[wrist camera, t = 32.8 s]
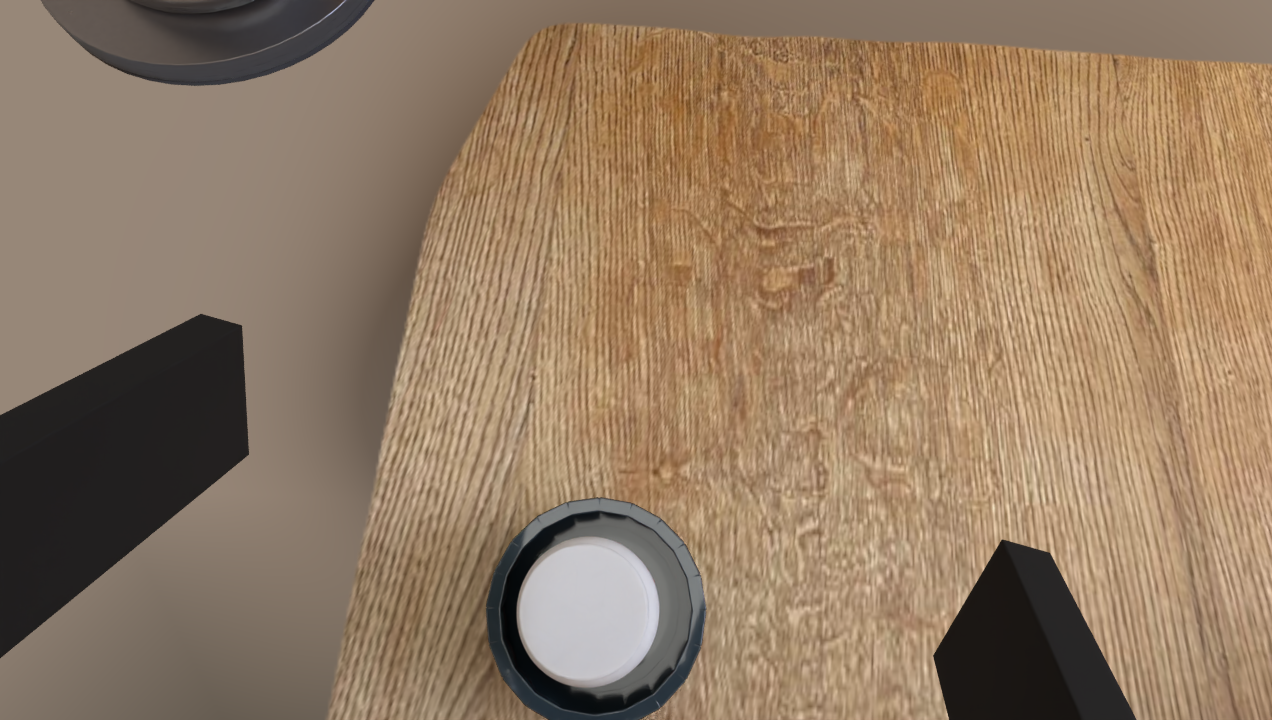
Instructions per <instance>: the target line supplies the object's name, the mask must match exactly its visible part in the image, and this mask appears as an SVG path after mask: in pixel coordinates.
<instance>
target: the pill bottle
mask: <svg viewBox="0 0 1272 720" xmlns="http://www.w3.org/2000/svg"><path fill="white" fill-rule="evenodd" d="M658 623H659V598H658V592H657V589H656V585H655V582H654V580H653V578H652V576H651V574H650V572H649V570H648V569H647V567H646V566H645V565H644V563H643V562H642V561H641V560H640V559H639V558H638V556H636V555H635V554H634V553H633V552H632V551H630V550H629V549H628V548H626V547H625V546H623V545H621V544H620V543H618V542H616V541H613V540H610V539H606V538H601V537H591V536H586V537H577V538H572V539H569V540H566V541H563V542H561V543H559V544H557V545H555V546H554V547H552V548H550V549H549V550H548V551H546V552H545V553H544V554H543V555H541V556H540V557H539V558H538V559H537V561H536V562H535V563H534V564H533V566H532V567H531V568H530V570H529V571H528V573H527V575H526V577H525V579H524V581H523V583H522V586H521V588H520V592H519V596H518V601H517V626H518V631H519V635H520V638H521V641H522V644H523V646H524V648H525V650H526V652H527V654H528V655H529V657H530V658H531V660H532V661H533V662H534V663H535V664H536V666H537V667H538V668H539V669H541V670H542V671H543V672H544V673H545V674H546V675H548V676H549V677H551V678H553V679H555V680H556V681H558V682H561V683H563V684H566V685H570V686H574V687H582V688H593V687H599V686H604V685H607V684H610V683H613V682H615V681H617V680H619V679H621V678H622V677H624V676H625V675H627V674H628V673H630V672H631V671H632V670H633V669H634V668H635V667H636V666H637V665H638V664H639V663H640V662H641V661H642V660H643V658H644V657H645V655H646V654H647V652H648V651H649V649H650V647H651V645H652V643H653V641H654V638H655V635H656V632H657V628H658Z"/></svg>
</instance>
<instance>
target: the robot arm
mask: <svg viewBox="0 0 1272 720" xmlns="http://www.w3.org/2000/svg"><path fill="white" fill-rule="evenodd" d="M131 1H133V2H135V3H137V4H139V5H142V6H145V7H148V8H151V9H155V10H159V11H164V12H170V13H180V14H199V13H210V12H218V11H222V10H227V9H232V8H235V7H239V6H242V5H245V4H248V3H250V2H253V1H255V0H131ZM248 455H249V449H248V429H247V412H246V392H245V374H244V355H243V336H242V326H241V325H238V324H235V323H231V322H228V321H224V320H221V319H217V318H214V317H210V316H206V315H203V314H200V315H198V316H196V317H194V318H192V319H190V320H188V321H186V322H184V323H182V324H180V325H178V326H176V327H174V328H172V329H170V330H168V331H166V332H164V333H162V334H160V335H158V336H156V337H154V338H152V339H150V340H148V341H146V342H144V343H142V344H140V345H138V346H137V347H134V348H132V349H130V350H129V351H126V352H124V353H123V354H120V355H119V356H117V357H115V358H113V359H111V360H109V361H107V362H105V363H103V364H101V365H99V366H97V367H95V368H93V369H91V370H89V371H87V372H85V373H83V374H81V375H79V376H77V377H75V378H73V379H71V380H69V381H67V382H65V383H63V384H61V385H59V386H57V387H55V388H53V389H51V390H49V391H47V392H45V393H43V394H41V395H39V396H37V397H35V398H34V399H32V400H30V401H28V402H26V403H24V404H22V405H20V406H18V407H16V408H14V409H12V410H10V411H8V412H6V413H4V414H2V415H0V658H1V657H2V656H3V655H5V654H6V653H7V652H8V651H10V650H11V649H12V648H13V647H14V646H15V645H17V644H18V643H19V642H20V641H22V640H23V639H24V638H25V637H26V636H28V635H29V634H30V633H31V632H33V631H34V630H35V629H36V628H38V627H39V626H40V625H41V624H42V623H43V622H45V621H46V620H47V619H48V618H50V617H51V616H52V615H54V613H56V612H57V611H58V610H60V609H61V608H62V607H63V606H64V605H66V604H67V603H68V602H69V601H71V600H72V599H73V598H74V597H75V596H77V595H78V594H79V593H80V592H82V591H83V590H84V589H85V588H86V587H88V586H89V585H90V584H91V583H92V582H94V581H95V580H96V579H97V578H99V577H100V576H101V575H102V574H104V573H105V572H106V571H107V570H108V569H110V568H111V567H112V566H113V565H114V564H116V563H117V562H118V561H119V560H120V559H122V558H123V557H124V556H126V555H127V554H128V553H129V552H130V551H132V550H133V549H134V548H135V547H136V546H137V545H139V544H140V543H141V542H143V541H144V540H145V539H146V538H148V537H149V536H150V535H151V534H152V533H153V532H155V531H156V530H157V529H159V528H160V527H161V526H162V525H163V524H165V523H166V522H167V521H168V520H169V519H171V518H172V517H173V516H174V515H175V514H177V513H178V512H179V511H180V510H182V509H183V508H184V507H185V506H187V505H188V504H189V503H190V502H192V501H193V500H194V499H195V498H196V497H198V496H199V495H200V494H201V493H203V492H204V491H205V490H206V489H207V488H209V487H210V486H211V485H212V484H213V483H215V482H216V481H217V480H218V479H220V478H221V477H222V476H223V475H224V474H226V473H227V472H228V471H229V470H230V469H232V468H233V467H234V466H235V465H237V464H238V463H239V462H240V461H242V460H243V459H244V458H245V457H246V456H248ZM933 657H934V661H935V665H936V669H937V673H938V677H939V681H940V685H941V689H942V693H943V697H944V701H945V705H946V709H947V713H948V717H949V720H1136V718H1135V716H1134V714H1133V712H1132V710H1131V708H1130V706H1129V704H1128V702H1127V700H1126V698H1125V696H1124V695H1123V693H1122V691H1121V689H1120V687H1119V685H1118V683H1117V681H1116V679H1115V677H1114V675H1113V673H1112V671H1111V670H1110V668H1109V666H1108V664H1107V662H1106V660H1105V658H1104V656H1103V654H1102V652H1101V650H1100V648H1099V646H1098V645H1097V643H1096V641H1095V639H1094V637H1093V635H1092V633H1091V631H1090V629H1089V627H1088V625H1087V623H1086V621H1085V619H1084V618H1083V616H1082V614H1081V612H1080V610H1079V608H1078V606H1077V604H1076V602H1075V600H1074V598H1073V596H1072V594H1071V593H1070V591H1069V589H1068V587H1067V585H1066V583H1065V581H1064V579H1063V577H1062V575H1061V573H1060V571H1059V569H1058V568H1057V566H1056V564H1055V562H1054V560H1053V558H1052V556H1051V554H1050V553H1048V552H1045V551H1041V550H1038V549H1034V548H1031V547H1027V546H1023V545H1020V544H1016V543H1013V542H1009V541H1006V540H1001V542H1000V544H999V545H998V547H997V549H996V551H995V552H994V554H993V556H992V557H991V559H990V561H989V562H988V564H987V566H986V567H985V569H984V571H983V572H982V574H981V576H980V578H979V579H978V581H977V583H976V584H975V586H974V588H973V589H972V591H971V593H970V594H969V596H968V598H967V599H966V601H965V603H964V605H963V606H962V608H961V610H960V611H959V613H958V615H957V616H956V618H955V620H954V621H953V623H952V625H951V626H950V628H949V630H948V632H947V633H946V635H945V637H944V638H943V640H942V642H941V643H940V645H939V647H938V648H937V650H936V652H935V653H934V655H933Z"/></svg>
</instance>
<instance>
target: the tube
mask: <svg viewBox="0 0 1272 720" xmlns="http://www.w3.org/2000/svg"><path fill="white" fill-rule="evenodd" d="M586 536H591V537H601V538H606V539H610V540H613V541H616V542H618V543H620V544H621V545H623V546H625V547H626V548H628V549H629V550H630V551H632V552H633V553H634V554H635V555H636V556H638V558H639V559H640V560H641V561H642V562H643V563H644V565H645V566H646V567H647V569H648V570H649V572H650V574H651V576H652V578H653V580H654V582H655V585H656V589H657V592H658V598H659V623H658V628H657V632H656V635H655V638H654V641H653V643H652V645H651V647H650V649H649V651H648V652H647V654H646V655H645V657H644V658H643V660H642V661H641V662H640V663H639V664H638V665H637V666H636V667H635V668H634V669H633V670H632V671H631V672H630V673H628V674H627V675H625V676H624V677H622V678H621V679H619V680H617V681H615V682H613V683H610V684H607V685H604V686H599V687H593V688H582V687H574V686H570V685H566V684H563V683H561V682H558V681H556V680H555V679H553V678H551V677H549V676H548V675H546V674H545V673H544V672H543V671H542V670H541V669H539V668H538V667H537V666H536V664H535V663H534V662H533V661H532V660H531V658H530V657H529V655H528V654H527V652H526V650H525V648H524V646H523V644H522V641H521V638H520V635H519V631H518V626H517V601H518V596H519V592H520V588H521V586H522V583H523V581H524V579H525V577H526V575H527V573H528V571H529V570H530V568H531V567H532V566H533V564H534V563H535V562H536V561H537V559H538V558H539V557H540V556H541V555H543V554H544V553H545V552H546V551H548V550H549V549H550V548H552V547H554V546H555V545H557V544H559V543H561V542H563V541H566V540H569V539H572V538H577V537H586ZM486 617H487V631H488V642H489V643H490V644H489V646H490V649H491V652H492V654H493V657H494V659H495V662H496V664H497V667H498V669H499V672H500V674H501V676H502V677H503V680H504V681H505V682H506V684H507V685H508V686H509V687H510V688H511V689H512V691H513V692H514V693H515V694H516V695H517V697H518V698H519V699H520V700H521V701H522V703H523V704H524V705H525V706H526V705H527V707H528V708H529V709H531V710H533V711H534V712H536V713H538V714H540V715H541V716H543V717H545V718H546V719H548V720H640V719H642V718H644V717H646V716H647V715H649V714H651V713H653V712H655V711H656V710H658V709H660V707H662V706H663V705H664V704H665V703H666V702H667V701H668V700H669V699H670V698H671V696H672V695H673V694H674V693H675V692H676V691H677V690H678V689H679V688H680V687H681V686H682V684H683V683H684V682H685V680H686V679H687V678H688V675H689V673H690V671H691V669H692V667H693V665H694V662H695V660H696V658H697V656H698V654H699V651H700V649H701V645H702V641H703V633H704V625H705V618H706V604H705V598H704V591H703V585H702V579H701V575H700V572H699V570H698V568H697V566H696V564H695V562H694V560H693V558H692V556H691V554H690V552H689V550H688V548H687V546H686V544H684V542H683V540H682V539H681V538H680V537H679V536H678V535H677V534H676V533H675V532H674V531H673V530H672V529H671V528H670V527H669V526H668V525H667V524H666V523H665V522H664V521H663V520H662V519H661V518H659V517H658V516H656V515H654V514H652V513H650V512H648V511H646V510H645V509H643V508H641V507H639V506H637V505H635V504H633V503H630V502H625V501H619V500H613V499H608V498H602V497H601V498H598V497H597V498H590V499H583V500H576V501H569V502H565V503H563V504H561V505H559V506H557V507H555V508H553V509H551V510H549V511H547V512H545V513H543V514H541V515H539V516H537V517H536V518H535V519H534V520H532V521H531V522H530V523H529V524H528V525H527V526H526V527H525V528H524V529H523V530H522V531H521V532H520V533H519V534H518V535H517V536H516V537H515V538H513V540H512V541H511V542H510V544H509V546H508V547H507V549H506V551H505V553H504V554H503V556H502V558H501V560H500V561H499V563H498V565H497V567H496V569H495V572H494V573H493V577H492V581H491V586H490V590H489V595H488V599H487V604H486Z"/></svg>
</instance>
